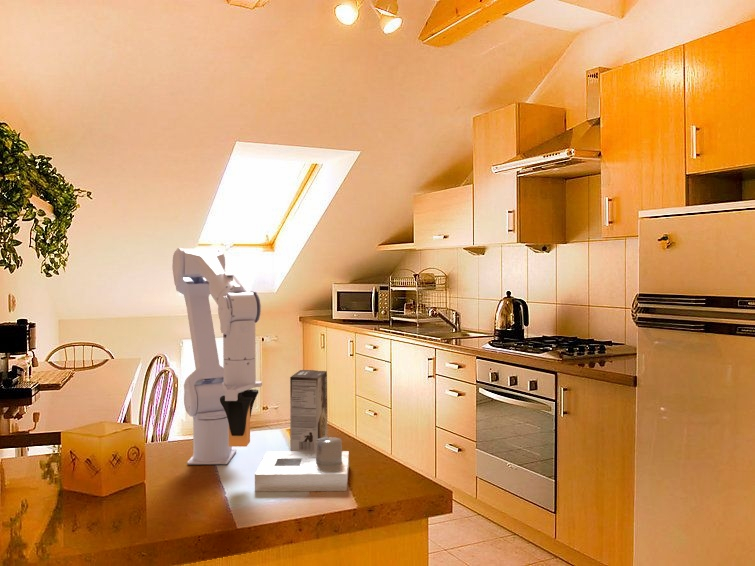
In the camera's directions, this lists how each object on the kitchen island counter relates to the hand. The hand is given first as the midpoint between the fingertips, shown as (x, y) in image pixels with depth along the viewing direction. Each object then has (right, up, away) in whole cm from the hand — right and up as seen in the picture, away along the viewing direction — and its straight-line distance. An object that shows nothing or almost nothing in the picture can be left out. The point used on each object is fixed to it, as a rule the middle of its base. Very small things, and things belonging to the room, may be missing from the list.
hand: (239, 432), depth 118 cm
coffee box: (+10, -9, +23) cm, 27 cm away
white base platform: (+12, -9, +2) cm, 15 cm away
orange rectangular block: (0, -2, 0) cm, 2 cm away
